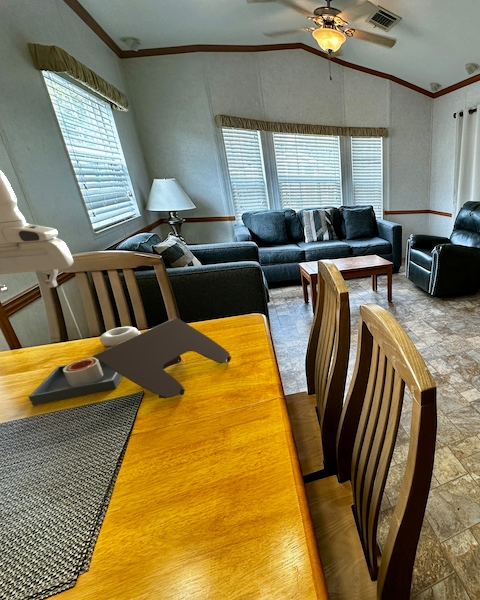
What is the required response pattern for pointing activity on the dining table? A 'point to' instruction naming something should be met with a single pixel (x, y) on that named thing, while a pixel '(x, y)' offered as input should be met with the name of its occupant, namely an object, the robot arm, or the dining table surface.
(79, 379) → the cream bowl
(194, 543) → the dining table surface
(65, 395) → the tray
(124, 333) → the donut
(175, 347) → the laptop tray
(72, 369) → the terracotta bowl
